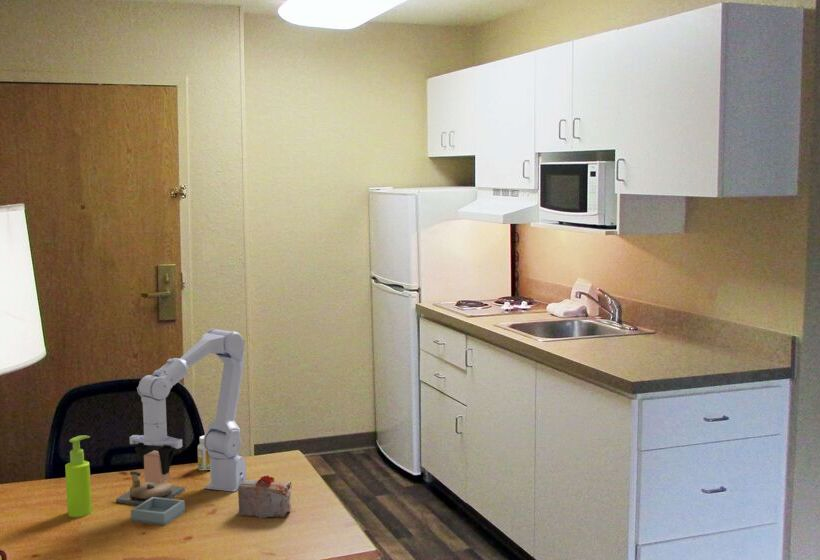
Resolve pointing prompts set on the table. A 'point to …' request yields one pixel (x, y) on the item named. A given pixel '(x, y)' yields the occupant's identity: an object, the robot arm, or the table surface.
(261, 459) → the table surface
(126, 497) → the crank base
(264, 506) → the food item
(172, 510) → the tray
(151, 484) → the crank
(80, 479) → the soap dispenser
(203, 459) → the supplement bottle
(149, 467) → the block
